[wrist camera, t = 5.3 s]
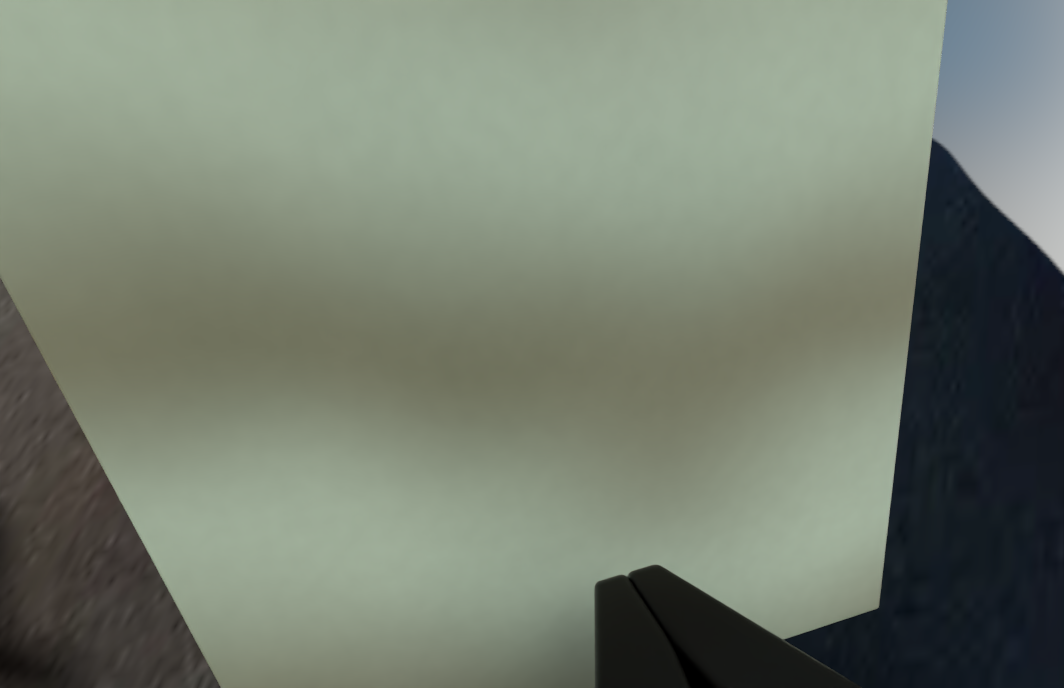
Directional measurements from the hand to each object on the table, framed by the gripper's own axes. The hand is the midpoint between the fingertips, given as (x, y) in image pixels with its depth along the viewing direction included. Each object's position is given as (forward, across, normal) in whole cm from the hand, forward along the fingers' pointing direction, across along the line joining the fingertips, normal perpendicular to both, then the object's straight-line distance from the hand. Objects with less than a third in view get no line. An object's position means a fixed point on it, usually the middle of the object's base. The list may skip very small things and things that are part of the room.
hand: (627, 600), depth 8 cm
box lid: (+3, 0, -3) cm, 4 cm away
